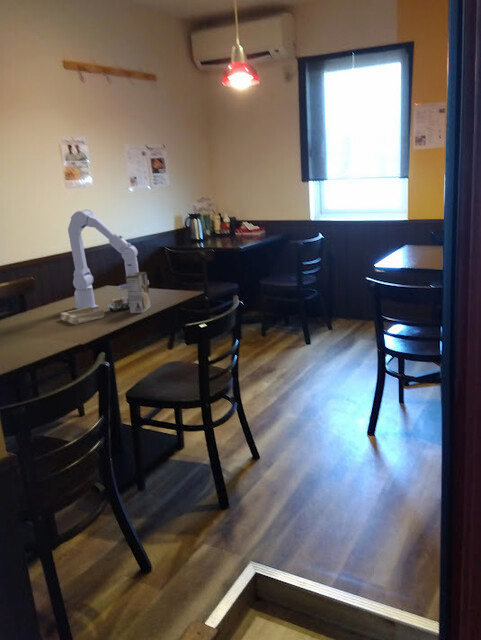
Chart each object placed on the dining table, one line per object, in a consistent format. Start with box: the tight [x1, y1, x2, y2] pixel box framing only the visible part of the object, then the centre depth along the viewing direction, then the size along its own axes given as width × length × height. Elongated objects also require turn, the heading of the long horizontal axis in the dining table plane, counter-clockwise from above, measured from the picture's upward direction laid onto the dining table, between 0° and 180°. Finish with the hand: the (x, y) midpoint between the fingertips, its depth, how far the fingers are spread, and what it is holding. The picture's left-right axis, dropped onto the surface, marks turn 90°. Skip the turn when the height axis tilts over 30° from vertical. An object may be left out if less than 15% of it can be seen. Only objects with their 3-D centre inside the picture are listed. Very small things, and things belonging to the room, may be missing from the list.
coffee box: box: [124, 271, 152, 314], centre depth 241 cm, size 9×6×16 cm
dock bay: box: [59, 306, 105, 326], centre depth 236 cm, size 14×14×3 cm
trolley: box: [107, 296, 130, 313], centre depth 247 cm, size 6×8×5 cm
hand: (136, 302), depth 253 cm, fingers closed
